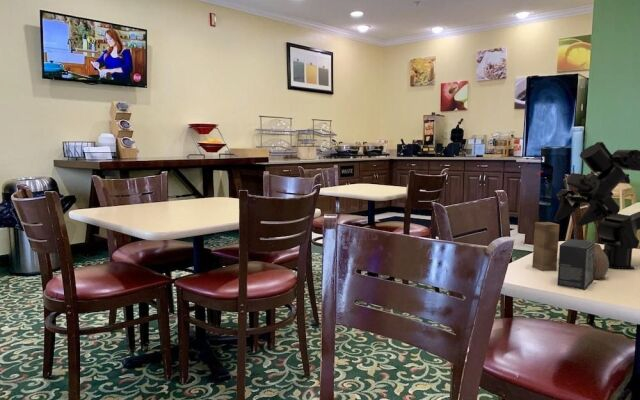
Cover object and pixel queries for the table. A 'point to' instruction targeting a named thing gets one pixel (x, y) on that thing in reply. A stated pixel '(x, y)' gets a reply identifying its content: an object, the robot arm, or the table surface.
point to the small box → (576, 263)
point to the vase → (600, 263)
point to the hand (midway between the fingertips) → (566, 222)
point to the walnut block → (545, 246)
